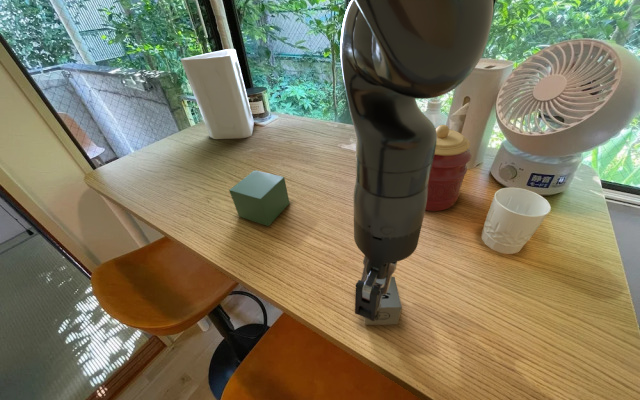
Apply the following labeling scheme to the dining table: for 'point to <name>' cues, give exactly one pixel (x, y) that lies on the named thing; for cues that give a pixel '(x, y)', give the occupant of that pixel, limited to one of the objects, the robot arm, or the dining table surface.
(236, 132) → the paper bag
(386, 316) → the dice cube
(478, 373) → the dining table surface
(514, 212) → the white cup
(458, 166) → the kitchen canister
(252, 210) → the green block
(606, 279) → the dining table surface
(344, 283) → the dining table surface
